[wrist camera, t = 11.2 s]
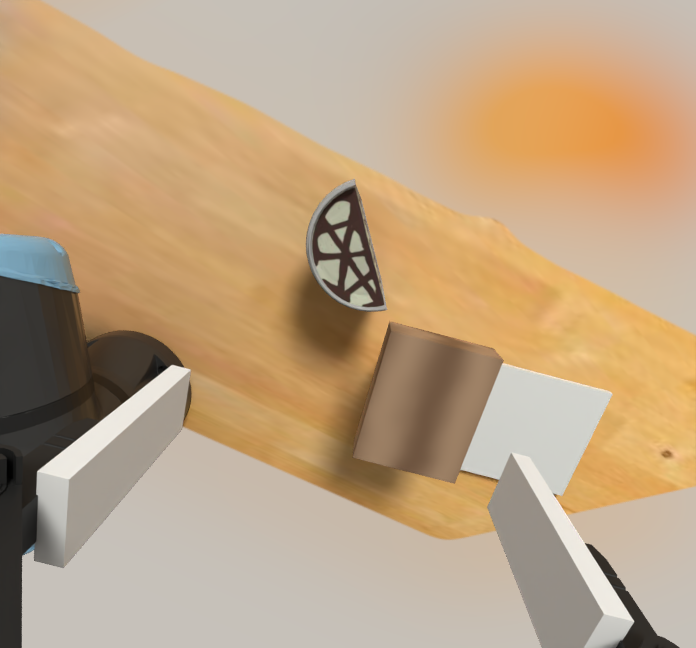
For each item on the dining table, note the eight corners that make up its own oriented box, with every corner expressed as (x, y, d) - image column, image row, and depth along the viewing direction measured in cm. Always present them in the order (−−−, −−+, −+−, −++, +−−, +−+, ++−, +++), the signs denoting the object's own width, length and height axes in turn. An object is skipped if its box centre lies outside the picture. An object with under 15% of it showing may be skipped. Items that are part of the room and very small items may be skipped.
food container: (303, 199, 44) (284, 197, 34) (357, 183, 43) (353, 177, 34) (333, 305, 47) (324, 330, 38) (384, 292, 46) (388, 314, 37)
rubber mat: (441, 461, 52) (442, 465, 51) (481, 357, 48) (482, 359, 47) (559, 491, 52) (562, 495, 52) (608, 390, 48) (612, 393, 47)
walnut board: (353, 439, 41) (352, 457, 38) (389, 321, 37) (391, 330, 34) (448, 464, 41) (454, 483, 38) (493, 348, 37) (503, 360, 34)
